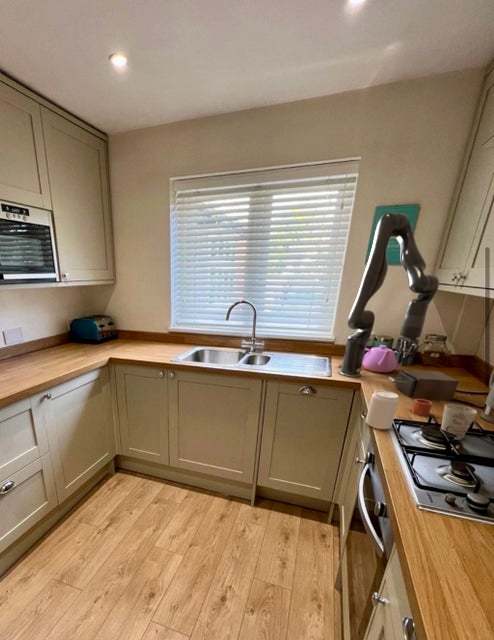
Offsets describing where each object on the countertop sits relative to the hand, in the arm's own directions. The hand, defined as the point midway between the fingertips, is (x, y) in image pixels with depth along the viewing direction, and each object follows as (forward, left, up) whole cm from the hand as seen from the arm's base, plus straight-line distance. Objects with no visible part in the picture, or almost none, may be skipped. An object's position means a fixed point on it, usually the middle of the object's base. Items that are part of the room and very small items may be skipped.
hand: (401, 364), depth 147 cm
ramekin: (+24, -1, -13) cm, 27 cm away
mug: (+42, 0, -13) cm, 44 cm away
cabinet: (0, +13, -13) cm, 18 cm away
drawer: (0, +7, -12) cm, 14 cm away
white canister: (+39, -23, -13) cm, 47 cm away
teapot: (-36, +8, -13) cm, 39 cm away
